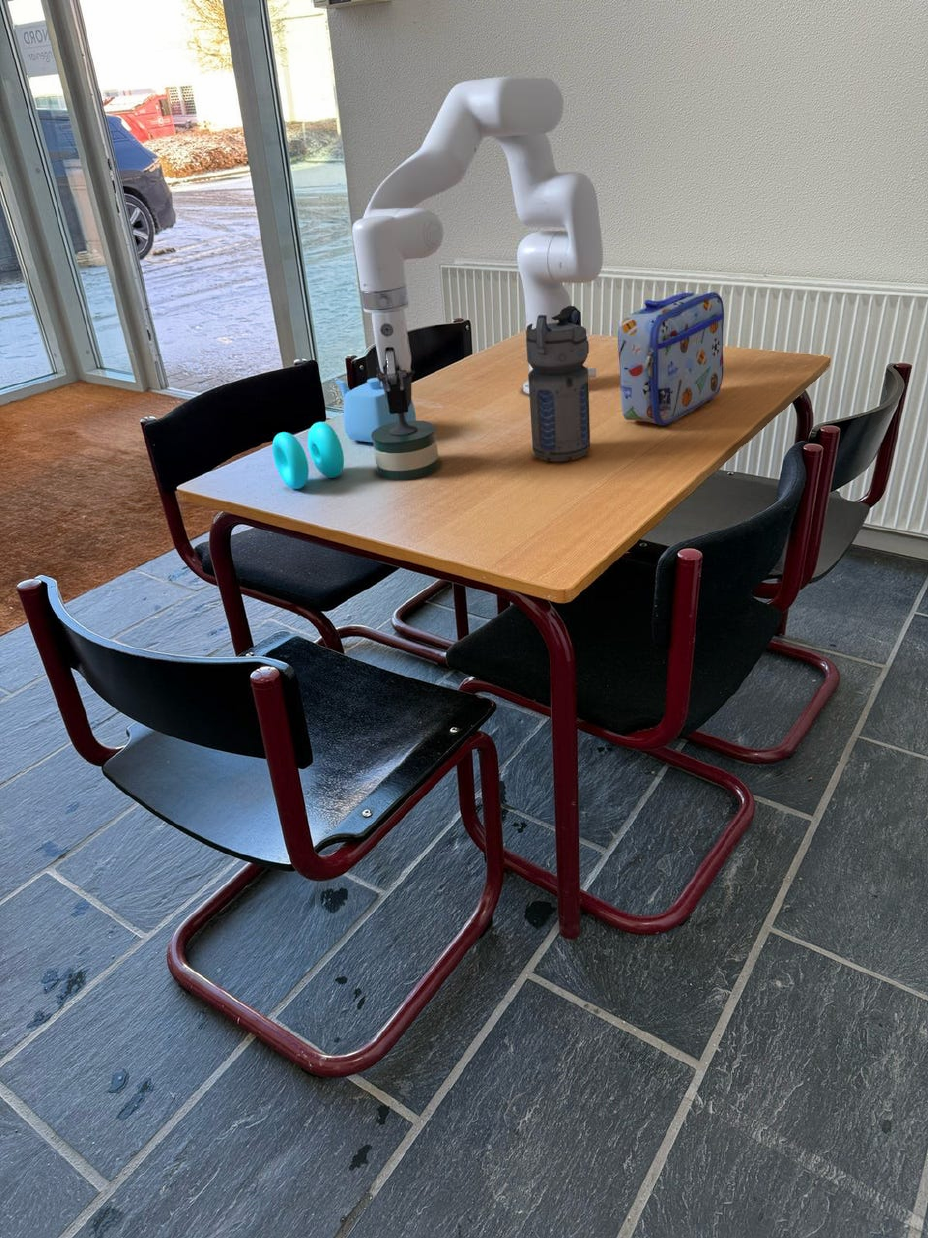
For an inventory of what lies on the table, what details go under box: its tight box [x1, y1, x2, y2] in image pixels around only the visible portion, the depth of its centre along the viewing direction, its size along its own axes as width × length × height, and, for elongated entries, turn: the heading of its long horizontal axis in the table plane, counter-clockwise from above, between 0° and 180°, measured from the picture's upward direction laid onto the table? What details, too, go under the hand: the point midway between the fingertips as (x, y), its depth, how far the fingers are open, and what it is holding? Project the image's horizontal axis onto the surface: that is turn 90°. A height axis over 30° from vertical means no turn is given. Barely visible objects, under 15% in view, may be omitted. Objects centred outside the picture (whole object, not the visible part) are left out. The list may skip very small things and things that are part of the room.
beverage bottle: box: [525, 305, 591, 463], centre depth 156 cm, size 10×13×25 cm
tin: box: [371, 419, 440, 481], centre depth 161 cm, size 11×11×7 cm
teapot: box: [333, 377, 417, 443], centre depth 178 cm, size 12×18×12 cm
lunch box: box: [617, 291, 725, 427], centre depth 170 cm, size 28×10×22 cm, turn 140°
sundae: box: [375, 352, 417, 436], centre depth 156 cm, size 7×7×15 cm
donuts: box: [272, 421, 345, 490], centre depth 159 cm, size 10×10×10 cm
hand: (399, 405), depth 157 cm, fingers open, 5 cm apart
